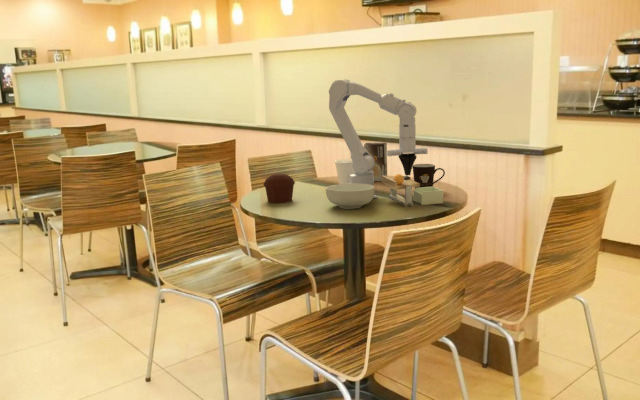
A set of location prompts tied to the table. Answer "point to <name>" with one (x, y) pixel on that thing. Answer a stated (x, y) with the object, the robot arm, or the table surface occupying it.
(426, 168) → the coffee mug
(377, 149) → the coffee box
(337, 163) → the cup
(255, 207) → the table surface
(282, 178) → the muffin
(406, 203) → the lever stand
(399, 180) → the ball
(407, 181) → the tan flat piece
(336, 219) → the table surface
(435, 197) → the bin
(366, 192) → the cereal bowl
